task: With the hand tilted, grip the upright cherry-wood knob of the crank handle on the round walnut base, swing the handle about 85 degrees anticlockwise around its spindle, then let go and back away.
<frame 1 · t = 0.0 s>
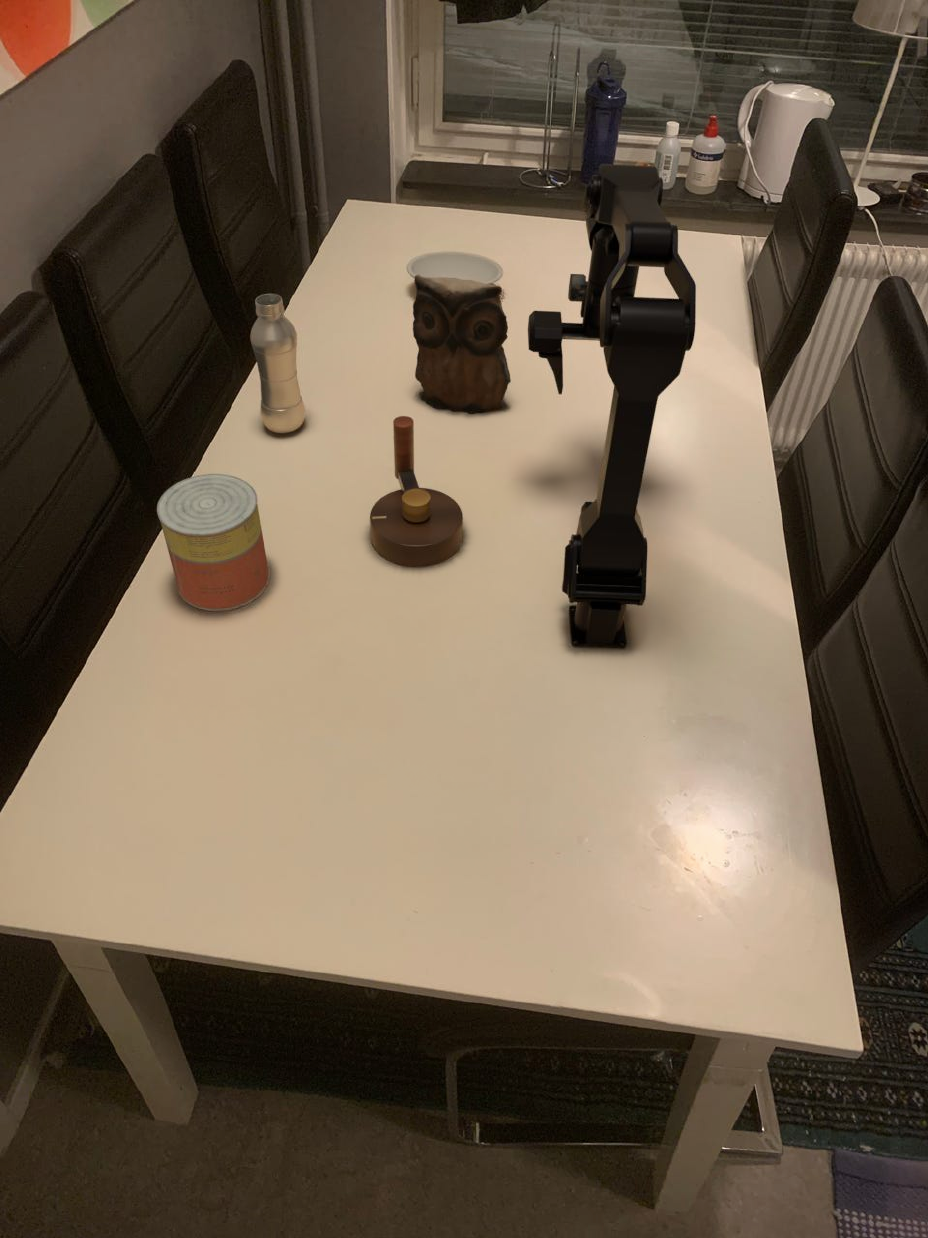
hand: (595, 393, 119), 15 cm above the table, tool pointing down, fingers open, 9 cm apart
crank base: (416, 536, 120), on the table
dish: (454, 295, 169), on the table
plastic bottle: (285, 427, 138), on the table
owl: (465, 395, 145), on the table
crank handle: (410, 468, 117), point 8 cm above the table, hinge at 0.0°
canned food: (224, 580, 114), on the table
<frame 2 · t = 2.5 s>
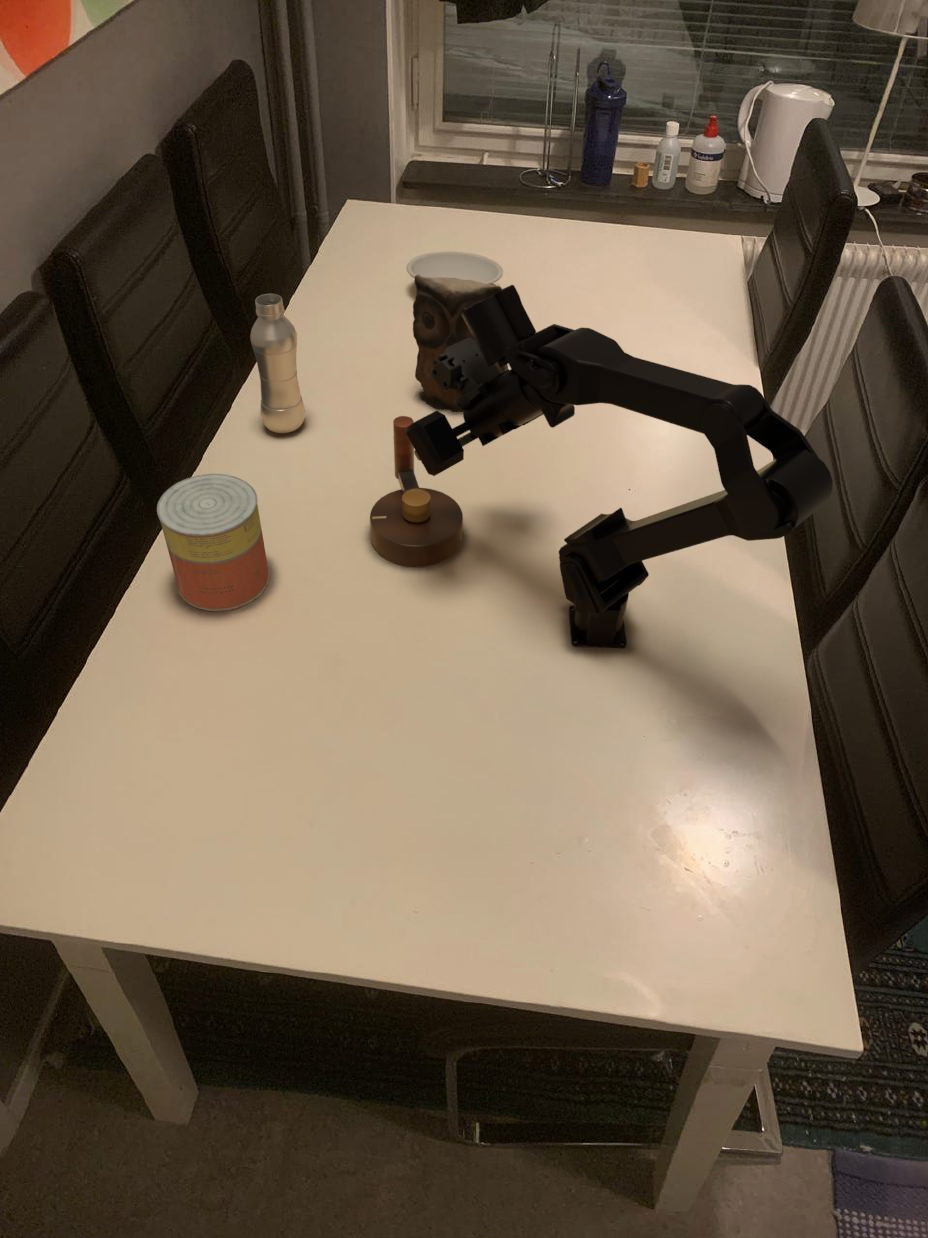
hand: (444, 440, 113), 13 cm above the table, tool tilted 45°, fingers open, 9 cm apart
nothing on the table moved.
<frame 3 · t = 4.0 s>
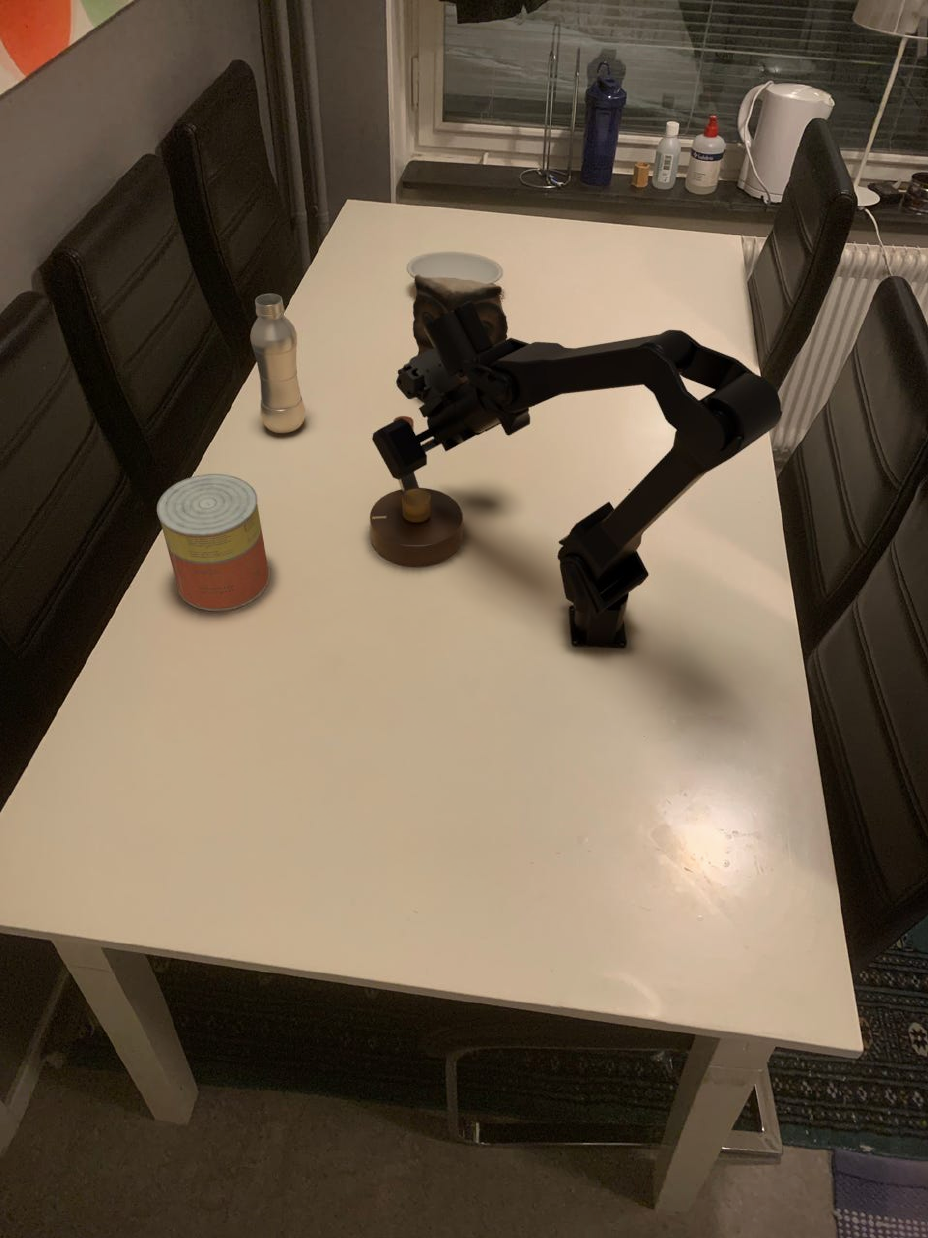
hand: (411, 445, 118), 10 cm above the table, tool tilted 45°, fingers open, 9 cm apart
nothing on the table moved.
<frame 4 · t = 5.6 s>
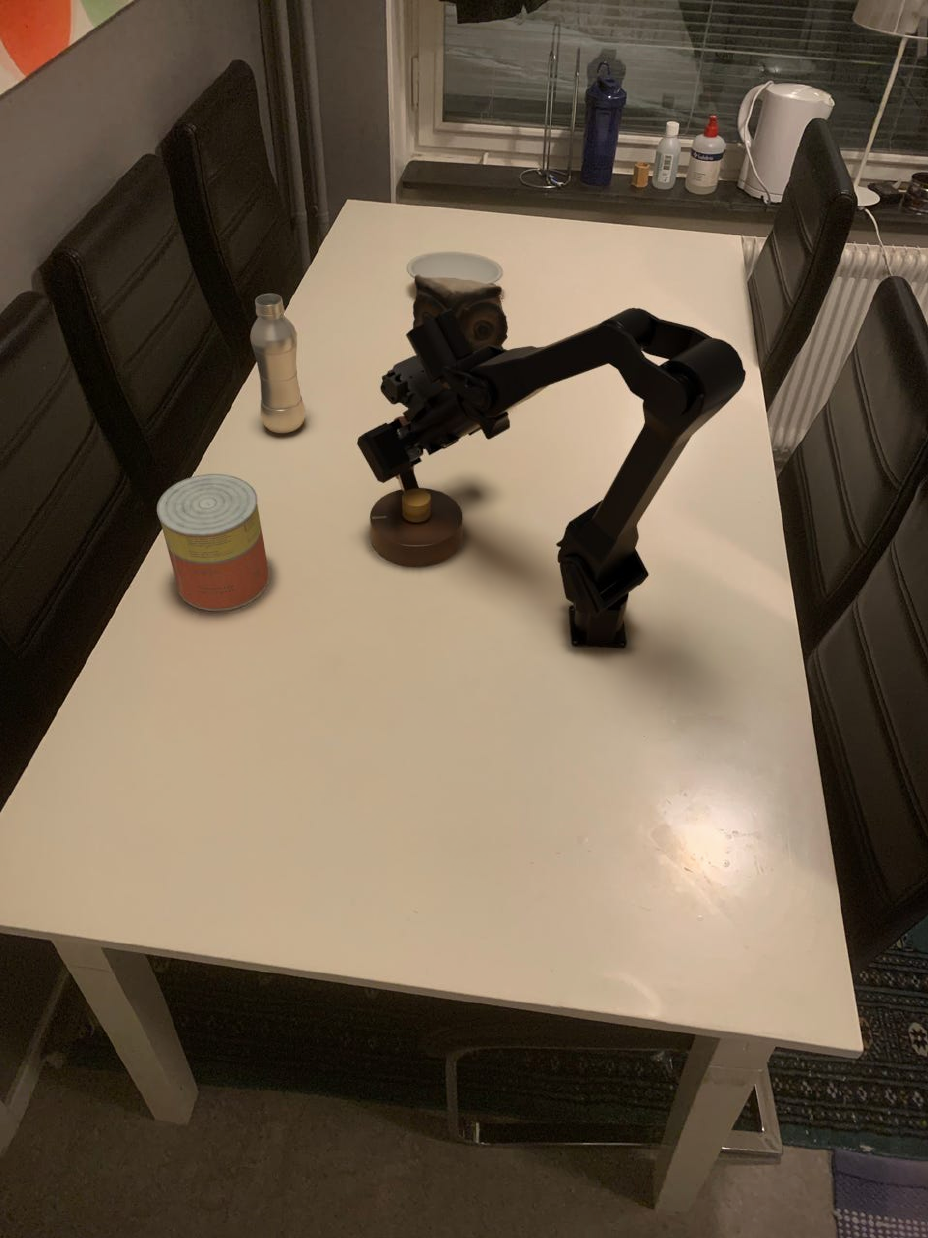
hand: (397, 449, 121), 8 cm above the table, tool tilted 45°, fingers closed on crank handle, 3 cm apart
crank handle: (410, 468, 117), point 8 cm above the table, hinge at 0.0°, touching gripper
everything else where it was.
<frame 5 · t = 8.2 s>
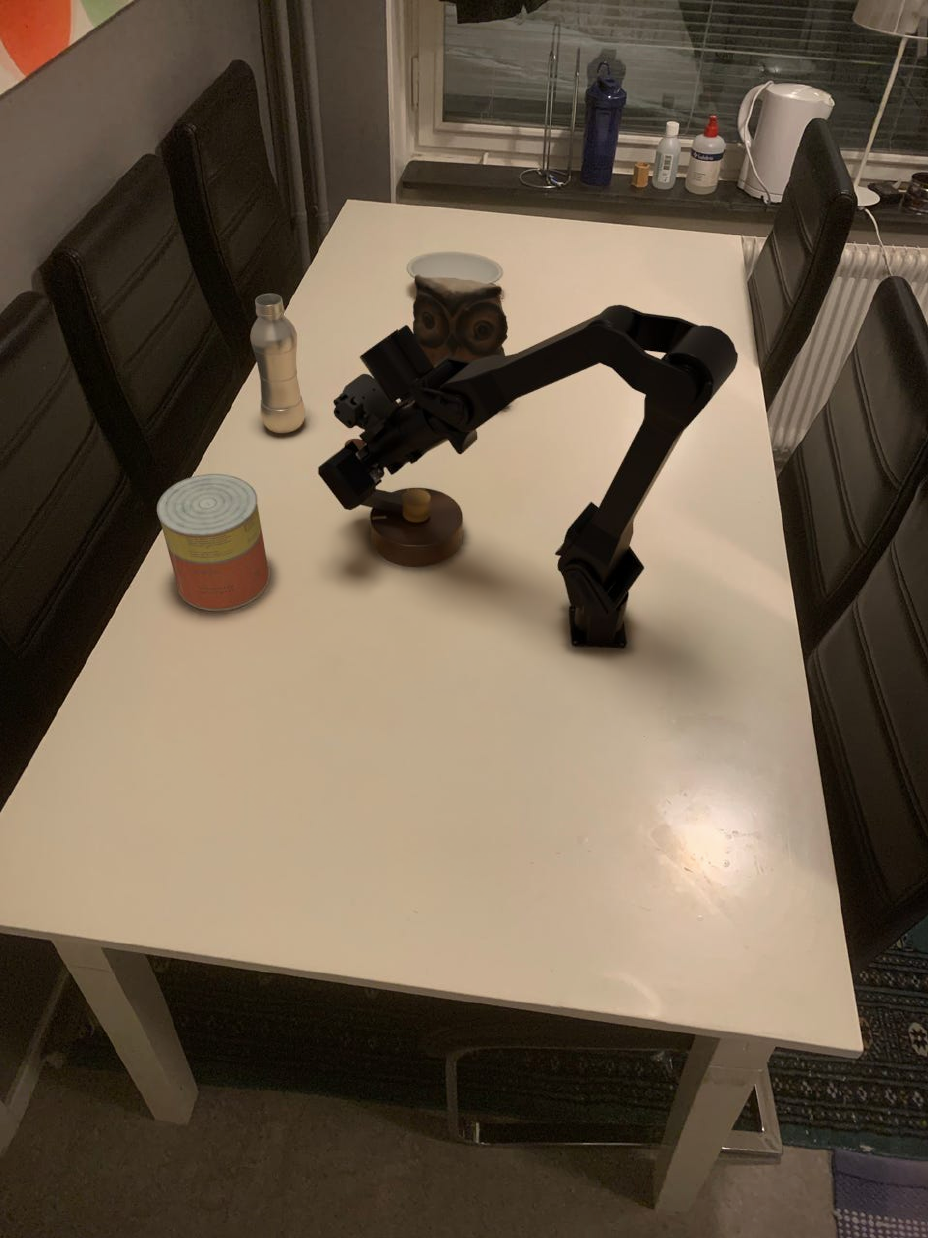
hand: (347, 470, 117), 8 cm above the table, tool tilted 45°, fingers closed on crank handle, 3 cm apart
crank handle: (388, 480, 115), point 8 cm above the table, hinge at 58.8°, touching gripper
everything else where it was.
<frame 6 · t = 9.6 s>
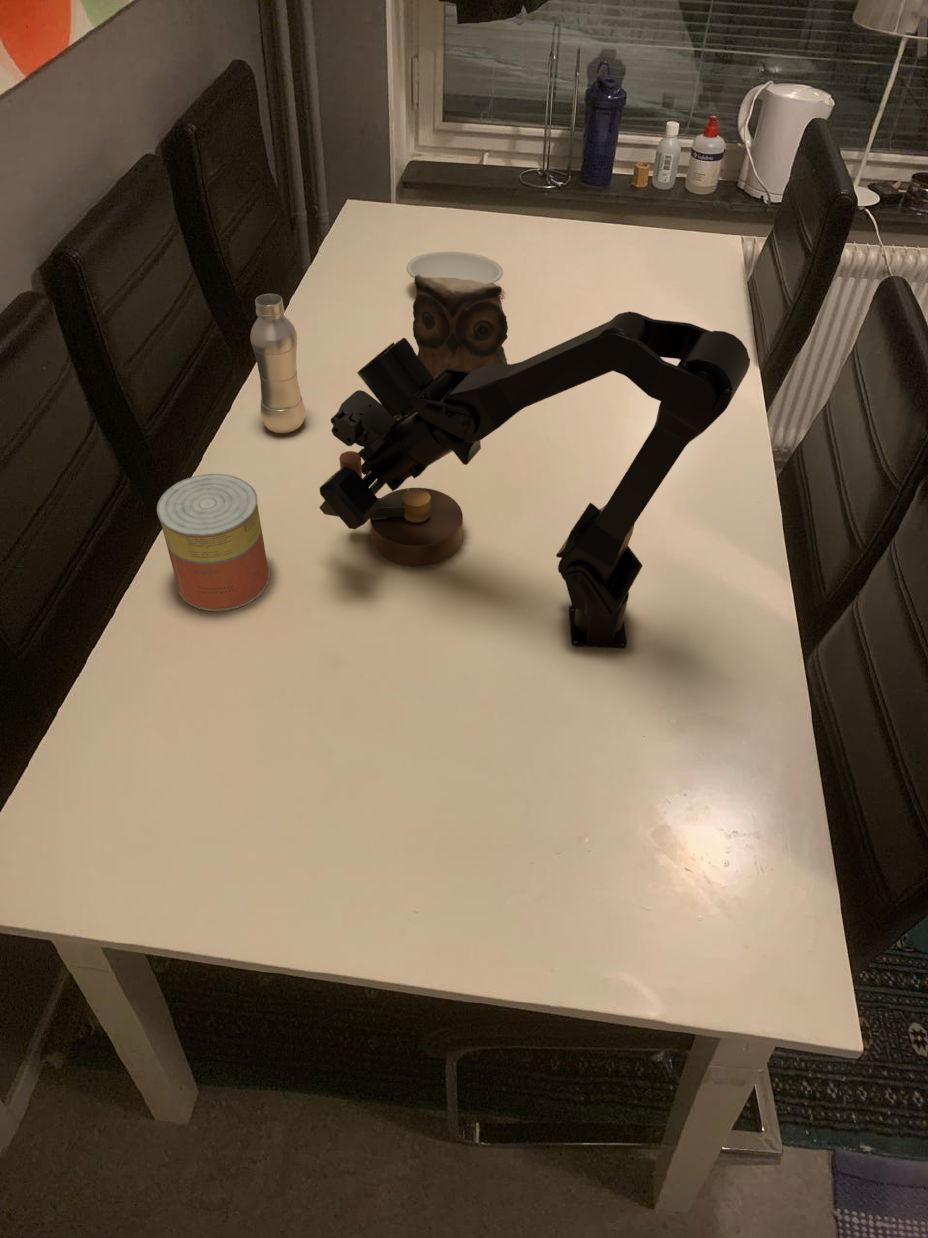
hand: (342, 490, 114), 8 cm above the table, tool tilted 45°, fingers open, 9 cm apart
crank handle: (386, 486, 114), point 8 cm above the table, hinge at 78.3°
everything else where it was.
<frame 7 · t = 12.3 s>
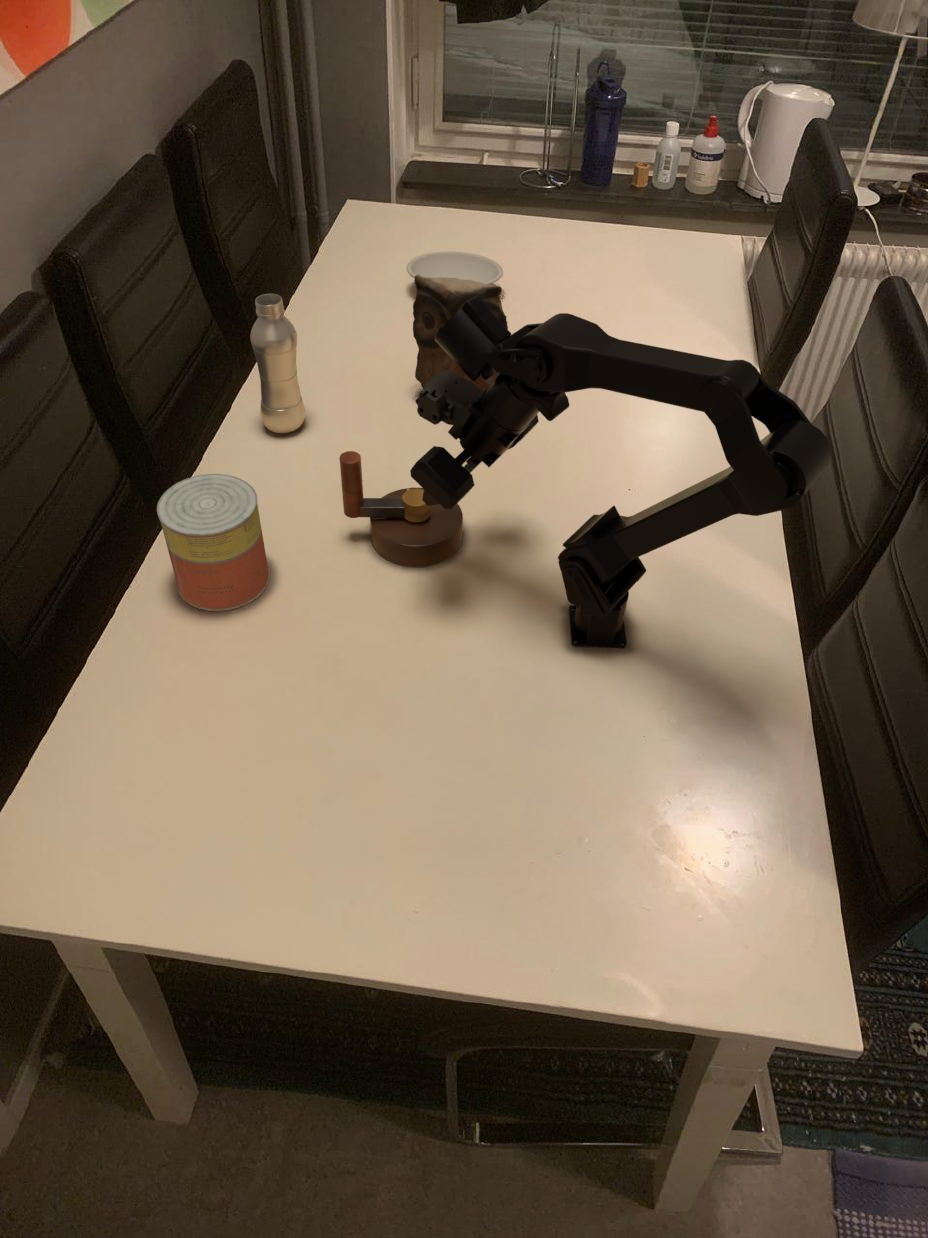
hand: (447, 481, 111), 11 cm above the table, tool tilted 30°, fingers open, 9 cm apart
nothing on the table moved.
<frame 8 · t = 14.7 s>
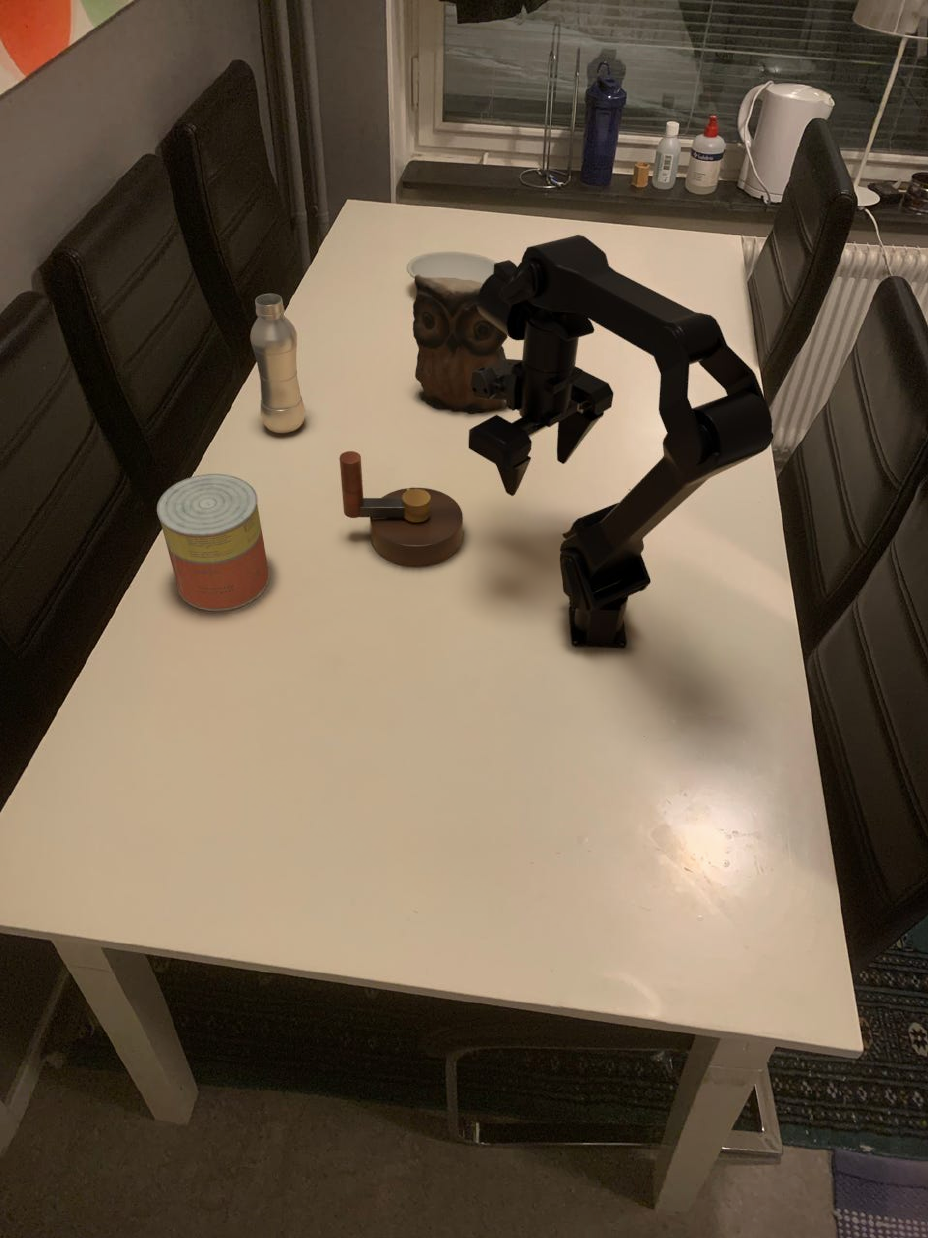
hand: (536, 477, 109), 13 cm above the table, tool pointing down, fingers open, 9 cm apart
nothing on the table moved.
at the end: crank handle at +78° (first picture: +0°); the gripper is holding nothing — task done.
